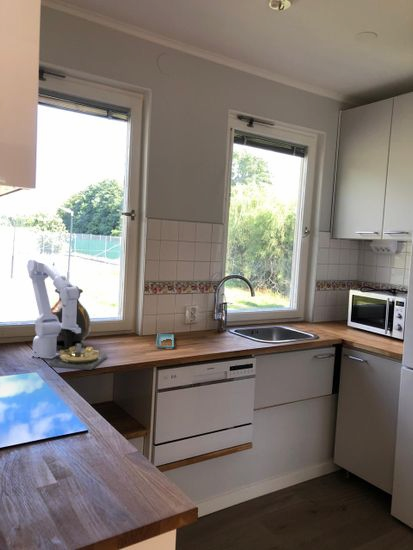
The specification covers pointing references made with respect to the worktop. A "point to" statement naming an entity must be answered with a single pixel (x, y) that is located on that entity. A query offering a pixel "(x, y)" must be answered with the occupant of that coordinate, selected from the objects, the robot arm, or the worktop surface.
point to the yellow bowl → (79, 354)
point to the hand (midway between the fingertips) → (68, 347)
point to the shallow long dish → (163, 337)
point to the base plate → (84, 365)
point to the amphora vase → (81, 321)
